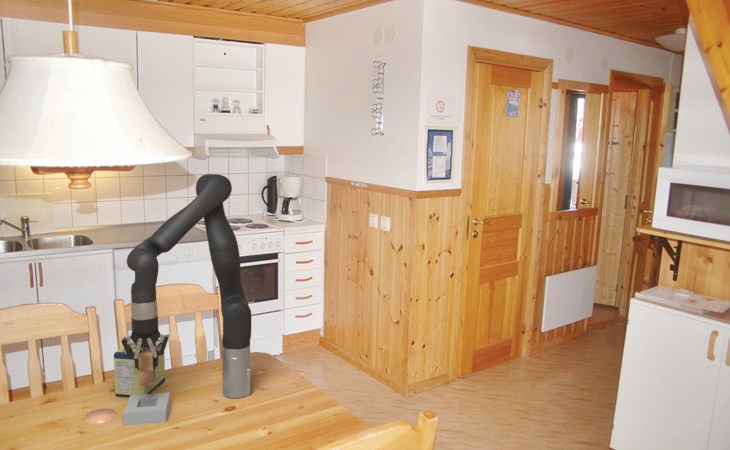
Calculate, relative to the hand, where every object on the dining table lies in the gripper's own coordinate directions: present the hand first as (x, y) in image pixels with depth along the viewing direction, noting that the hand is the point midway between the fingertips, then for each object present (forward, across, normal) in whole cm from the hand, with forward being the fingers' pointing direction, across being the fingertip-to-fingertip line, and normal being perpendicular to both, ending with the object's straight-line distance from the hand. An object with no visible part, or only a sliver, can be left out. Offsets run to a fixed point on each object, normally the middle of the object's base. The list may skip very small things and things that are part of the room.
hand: (146, 368), depth 174 cm
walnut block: (+5, 0, 0) cm, 5 cm away
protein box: (+16, +5, -20) cm, 26 cm away
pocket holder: (+16, 0, 0) cm, 16 cm away
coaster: (+16, +14, -1) cm, 21 cm away
